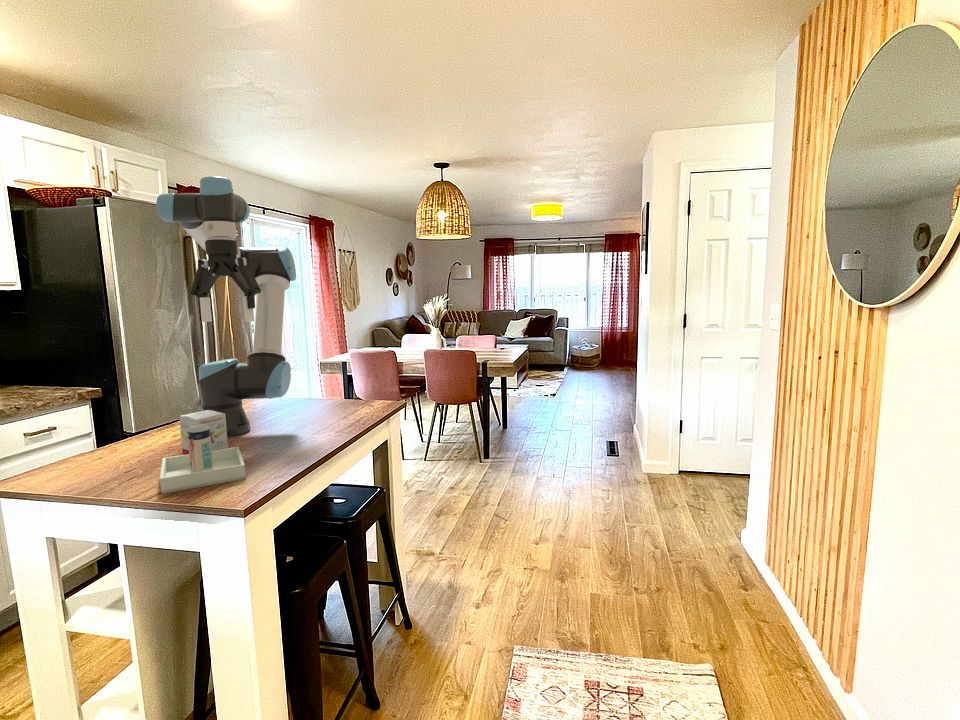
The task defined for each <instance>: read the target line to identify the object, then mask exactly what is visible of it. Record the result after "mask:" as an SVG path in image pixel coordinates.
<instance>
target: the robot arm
mask: <svg viewBox="0 0 960 720" xmlns="http://www.w3.org/2000/svg"><path fill="white" fill-rule="evenodd" d="M233 188H234V187H233V183H232V181H231V179H230V178H227V177H223V176H210V175H209V176H203V177H202V178H200V179H199V193H198V192H195V193H193V192H189V193H188V192H184V193H183V192H180V193H179V192H170V193H160V194H159V195H158V197H157V198H156V206H155V207H156V212H157V214H158V216H159V218H160V219H161V220H162V221H163V222H167V223H172V224H173V223H177V224H178V225H179V226H180V227H182V229H184V232H186V233H187V234H188V235H189V236H190V237H191V238H192V239H193V240H194V241H195V242H196V243H197V244H198V245H199V246H200V247H201V248H202V250H203V251H204V252H205V254H206V255H207V257H208V259H201V258H200V259H198V260H197V269H196V272H195V276H194V279H193V283H192V285H191V290H190V295H191V296H196V298H197V300H198V309H199V310H200V314H201V315H200V316H201V323H210V322H213V318H212V309H211V308H212V307H211V306H212V305H211V297H209V294H210V292H211V290H212V288H213V286H214V284H215V283H216V281H218V280H217V279H218V278H220V277H229V278H231V279H232V280H233V281H234V283H235V284H236V285H237V286H238V288H239V289H240V290H241V291H242V293H243V294H244V295H243V296H242V306H243V315H244V316H243V317H244V323H251V322H254V321H255V323H254V334H253V344H252V345H253V347H252V351H251V352H250V353H249V354H247V358H246V362H240V361H239V359H238V358H236V357H235V358H226V359H221V360H216V361H210V362H207V363H204V364H202V365H201V366H199V368H198V383H199V392H200V402H201V411H206V410H211V411H216V412H221V413H225V416H226V429H227V438H230V437H235V436H239V435H243V434H245V433H247V432H249V431H250V430H251V423H250V420H249V418H248V416H247V413H246V411H245V409H244V407H243V400H258V399H268V400H271V399H278V398H282V397H284V396H285V395H286V394H287V392H288V391H289V388H290V384H291V380H292V379H291V378H292V373H291V372H292V369H291V368H292V367H291V364H290V363H289V361H287V359H286V356H284V355H283V354H282V343H283V329H284V328H283V326H284V325H283V324H284V312H285V311H284V309H285V298H286V297H285V293H286V290H288V289H289V288H290V286H291V282H295V281H296V279H297V273H296V272H297V271H296V264H295V260H294V256H293V254H292V252H291V250H290V249H289V248H288V247H283V246H279V247H278V246H275V247H274V246H273V247H272V246H271V247H269V246H268V247H267V246H266V247H264V246H263V247H262V246H261V247H260V246H259V247H244V246H243V247H240V246H238V242H237V240H236V239H237V237H238V236H237V235H238V234H237V228H236V224H240V223H243V222H246V220H247V219H248V218H249V217H250V213H251V211H250V210H251V209H250V205H249V203H248V202H247V201H246V199H244V198H243V197H242V196H241V195H238V194H235V193H234V189H233ZM256 295H257V296H256ZM255 296H256V297H257V299H256V298H255ZM255 299H256V300H255ZM254 311H255V313H254Z"/></svg>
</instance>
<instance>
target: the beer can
mask: <svg viewBox="0 0 960 720" xmlns="http://www.w3.org/2000/svg"><path fill="white" fill-rule="evenodd" d="M187 436H188V445H189V455H190V465H191V473H193V472H199V471H205V470H211V469H213V460H212V450H211V439H210V429H209V427H208V425H207V424H194V425H191V426H189V428H188V430H187Z"/></svg>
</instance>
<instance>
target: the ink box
mask: <svg viewBox="0 0 960 720" xmlns="http://www.w3.org/2000/svg"><path fill="white" fill-rule="evenodd" d="M194 424H207V425H208V427H209V429H210V439H211V450H212V451H213V450H219V449H226V448H229V445H228V437H227V429H226V416H225V413H221V412H216V411H211V410H206V411H202V410H201V411H197V412H196V411H195V412H191V413H187V414H186V413H185V414H182V415H181V414H180V415H179V427H180V428H179V430H180V436H181V437H180V440H181V441H180V442H181V450H182V455H186V454H189V445H188V436H187V430H188V428H189V426H191V425H194Z"/></svg>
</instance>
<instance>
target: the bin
mask: <svg viewBox="0 0 960 720" xmlns="http://www.w3.org/2000/svg"><path fill="white" fill-rule="evenodd" d="M212 460H213V469H211V470H205V471H199V472H193V473H191V465H190V455H189V454H186V455H183V454H181V455H175V456H174V455H173V456H167V457H162V462H161V467H160V473H159V484H160V485H159V487H160V494H161V495H163V494H169V493H175V492H179V491H180V492H181V491H187V490H193V489H197V488H202V487H203V488H204V487H208V486H215V485H219V484H225V483H230V482H237V481H243V480H246V479H247V475H246V466H245V462H244V458H243V456H242V453H241V449H240V447H239V446H234V447H228V448H226V449H219V450H213V451H212Z"/></svg>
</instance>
